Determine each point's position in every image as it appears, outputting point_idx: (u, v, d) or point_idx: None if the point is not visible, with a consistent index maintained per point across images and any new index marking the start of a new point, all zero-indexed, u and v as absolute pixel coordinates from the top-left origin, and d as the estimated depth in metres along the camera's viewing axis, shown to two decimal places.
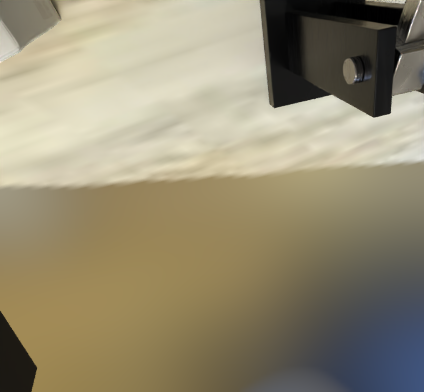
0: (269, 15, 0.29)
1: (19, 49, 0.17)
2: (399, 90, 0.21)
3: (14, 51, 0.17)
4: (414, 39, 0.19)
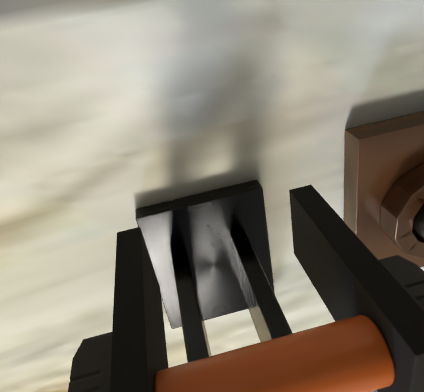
0: (151, 253, 0.25)
1: None
2: None
3: None
4: None
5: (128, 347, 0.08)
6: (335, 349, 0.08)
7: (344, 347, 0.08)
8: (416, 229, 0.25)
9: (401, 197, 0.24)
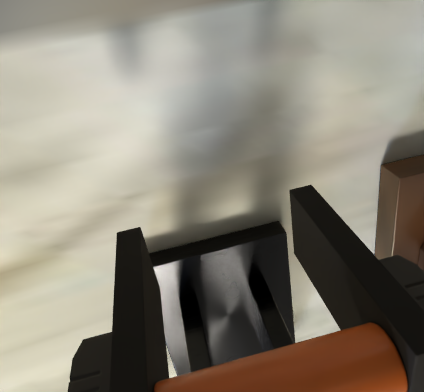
0: None
1: None
2: None
3: None
4: None
5: (128, 347, 0.08)
6: (338, 346, 0.08)
7: (347, 345, 0.08)
8: None
9: None
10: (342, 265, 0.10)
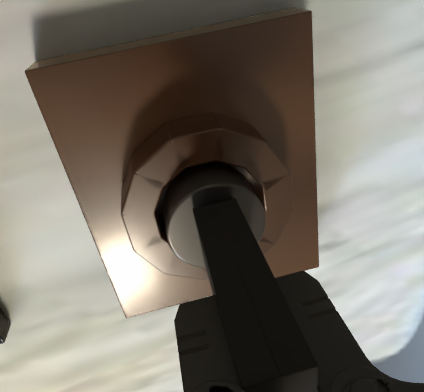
0: None
1: None
2: None
3: None
4: None
5: (236, 306, 0.09)
6: None
7: None
8: None
9: (128, 178, 0.14)
10: None
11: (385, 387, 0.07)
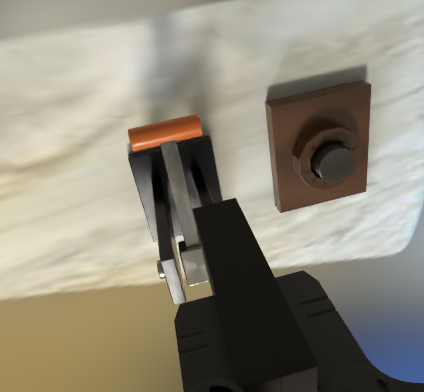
0: (139, 183, 0.37)
1: None
2: (197, 280, 0.29)
3: None
4: (192, 244, 0.29)
5: (236, 306, 0.09)
6: (182, 117, 0.27)
7: (185, 116, 0.27)
8: (313, 168, 0.38)
9: (301, 146, 0.37)
10: None
11: (385, 387, 0.07)
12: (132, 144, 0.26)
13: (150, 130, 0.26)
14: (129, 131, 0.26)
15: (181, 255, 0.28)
